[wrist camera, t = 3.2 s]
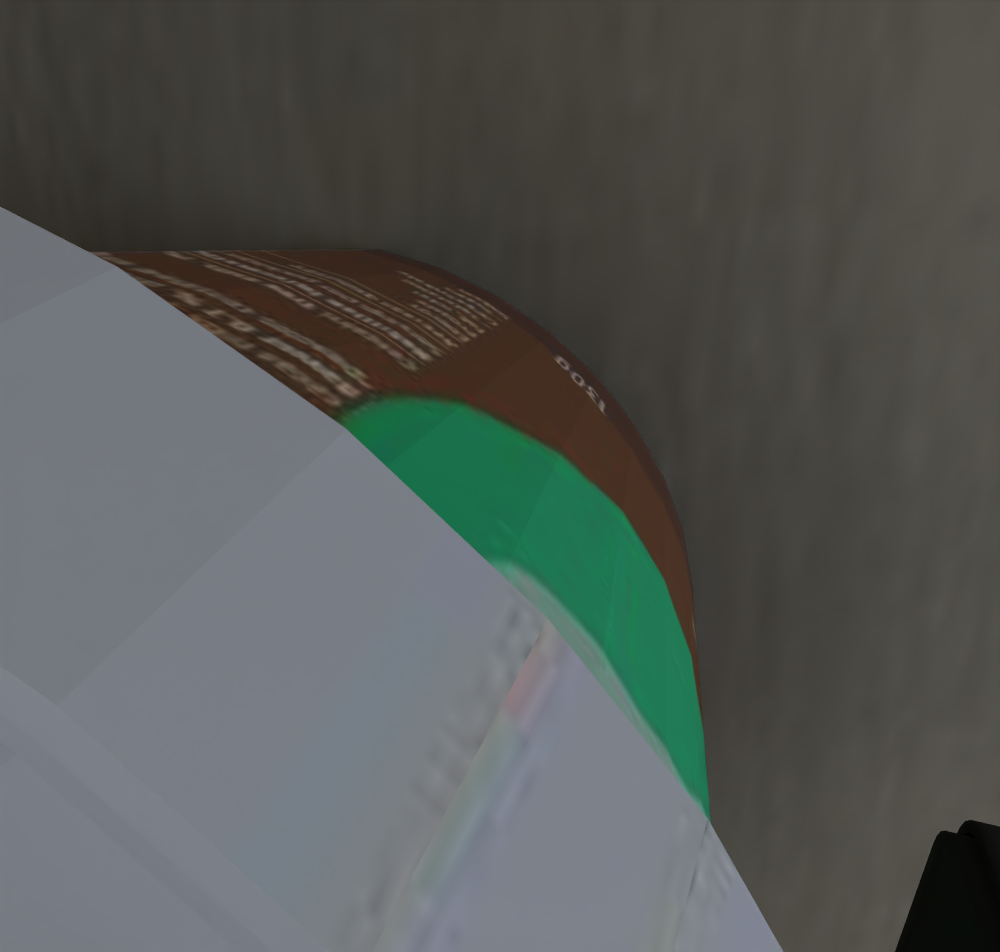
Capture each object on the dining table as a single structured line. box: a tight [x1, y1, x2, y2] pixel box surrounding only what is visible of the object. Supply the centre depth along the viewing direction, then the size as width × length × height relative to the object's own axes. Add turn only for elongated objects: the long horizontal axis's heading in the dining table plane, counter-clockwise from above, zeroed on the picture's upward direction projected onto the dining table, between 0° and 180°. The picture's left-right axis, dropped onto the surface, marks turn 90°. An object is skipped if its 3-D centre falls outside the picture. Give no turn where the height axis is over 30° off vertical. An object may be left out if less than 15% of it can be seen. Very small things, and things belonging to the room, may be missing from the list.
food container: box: [0, 207, 783, 952], centre depth 8 cm, size 12×6×10 cm, turn 169°
